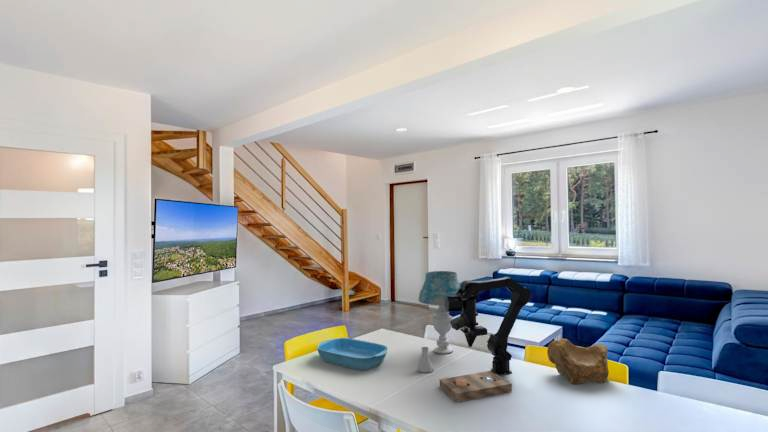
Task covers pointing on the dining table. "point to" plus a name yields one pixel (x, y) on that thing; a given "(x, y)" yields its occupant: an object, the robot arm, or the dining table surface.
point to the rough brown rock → (579, 361)
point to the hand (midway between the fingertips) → (470, 346)
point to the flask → (425, 362)
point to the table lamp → (440, 303)
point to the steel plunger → (487, 378)
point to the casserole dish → (352, 353)
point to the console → (475, 386)
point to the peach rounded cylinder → (461, 382)
